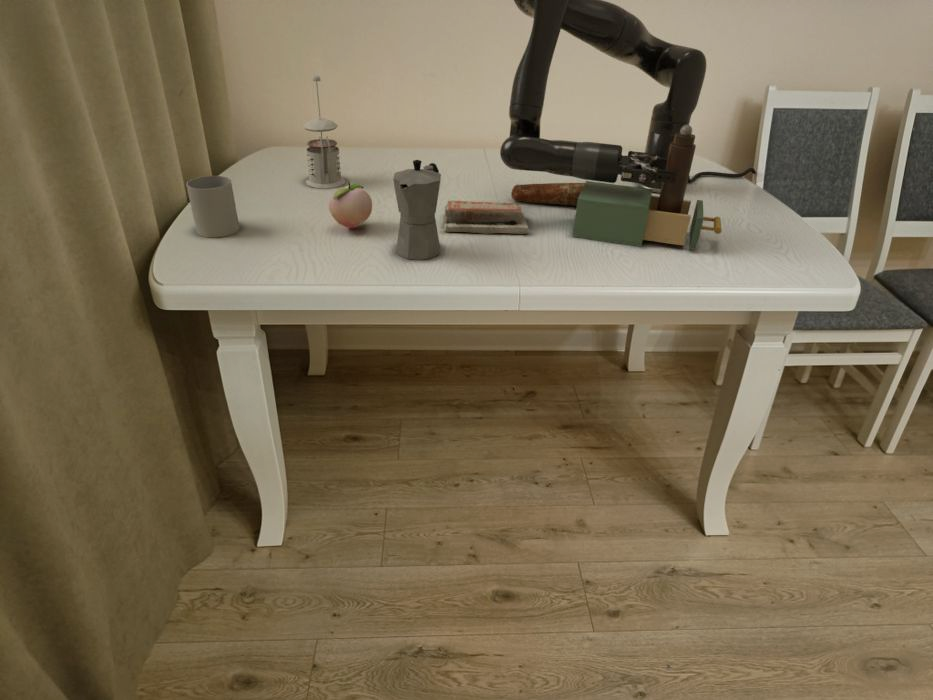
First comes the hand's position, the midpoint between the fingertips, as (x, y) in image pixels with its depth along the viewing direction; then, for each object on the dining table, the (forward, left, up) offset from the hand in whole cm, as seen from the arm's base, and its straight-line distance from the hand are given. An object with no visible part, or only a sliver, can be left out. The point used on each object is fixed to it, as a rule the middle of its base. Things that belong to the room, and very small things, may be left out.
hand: (676, 171), depth 125 cm
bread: (+11, -27, -15) cm, 33 cm away
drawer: (-2, +2, -14) cm, 14 cm away
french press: (+56, -61, -15) cm, 84 cm away
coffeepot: (+50, -15, -15) cm, 54 cm away
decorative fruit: (+59, -30, -15) cm, 68 cm away
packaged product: (+32, -21, -15) cm, 41 cm away
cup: (+85, -40, -15) cm, 95 cm away
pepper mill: (0, 0, -13) cm, 13 cm away
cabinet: (+8, -8, -15) cm, 18 cm away
